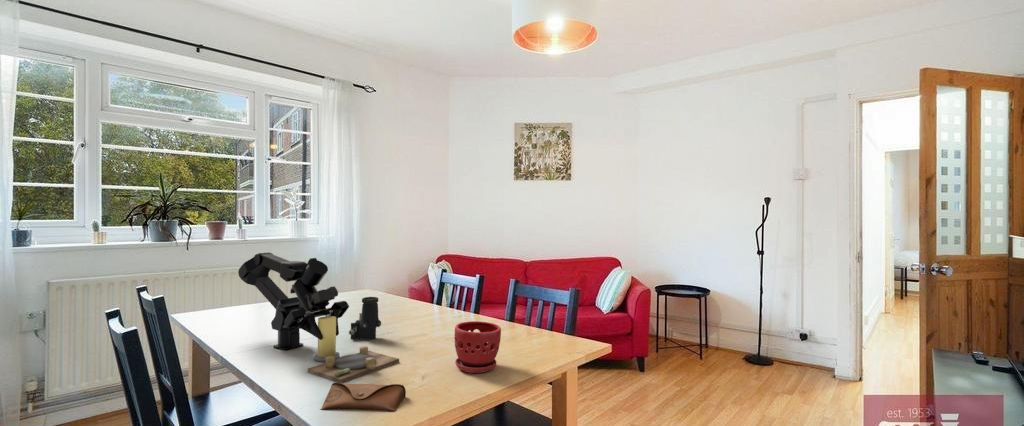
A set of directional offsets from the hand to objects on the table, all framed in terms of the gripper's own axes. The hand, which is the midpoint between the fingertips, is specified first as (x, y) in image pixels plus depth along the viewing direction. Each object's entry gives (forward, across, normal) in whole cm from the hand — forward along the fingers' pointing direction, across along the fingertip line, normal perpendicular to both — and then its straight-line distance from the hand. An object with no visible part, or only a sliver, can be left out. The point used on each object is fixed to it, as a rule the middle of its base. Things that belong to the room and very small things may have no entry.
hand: (329, 336), depth 137 cm
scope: (-2, +21, +11) cm, 24 cm away
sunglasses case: (+29, -15, -18) cm, 37 cm away
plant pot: (+33, +19, -24) cm, 45 cm away
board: (+13, 0, -4) cm, 13 cm away
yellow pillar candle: (+4, 0, +6) cm, 7 cm away
